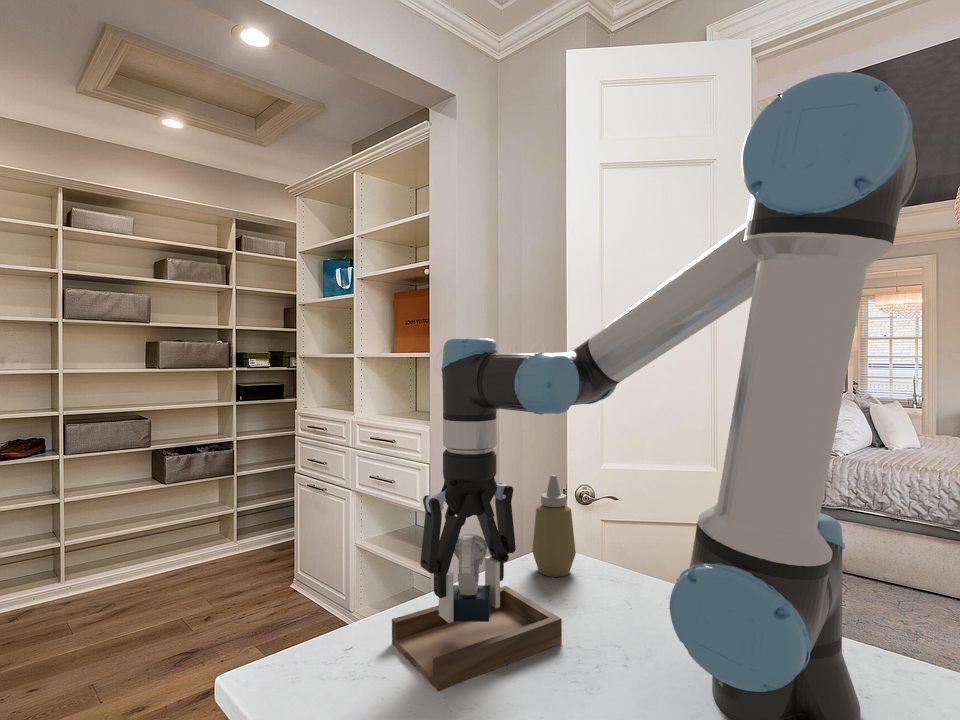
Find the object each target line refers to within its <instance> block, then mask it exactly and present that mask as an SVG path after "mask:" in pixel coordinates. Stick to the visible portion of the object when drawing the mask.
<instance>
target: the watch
mask: <svg viewBox="0 0 960 720" xmlns="http://www.w3.org/2000/svg"><path fill="white" fill-rule="evenodd" d="M487 550H488V547H487V543H486V541H485V538H484V537H482V536H481V535H478V534H476V533H475V534H474V533H464V534H461V535H459V537H458V540H457V544H456V547H455V550H454V554H453V555H455V557H456V558H457V559H458V574H457V583H458V584H456V585H455V584H453V621H458V622H489V617H490V608H491V602H490V585H485V584H484V585H483V584H482V585H481V584H480V585H479V578H480V566H482V565H483V562H484V560H485V557H486V555H487Z"/></svg>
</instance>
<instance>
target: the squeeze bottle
mask: <svg viewBox="0 0 960 720" xmlns="http://www.w3.org/2000/svg"><path fill="white" fill-rule="evenodd" d="M540 503H541V504H540V505H539V506H537V507H536V508H535V518H534V519H535V521H534V529H533V538H532V549H531V552H532V554H533V557H534V561H535V564H536V568H537V570H538V573H540V574H541V575H544V576H547V577H554V578H555V577H557V578H558V577H564V576H565V577H566V576H567V575H568V574H570V573H571V569H572V565H573V563H574V560H575V557H576V543H575V535H574V524H573V513H572V509H571V508H570V507H569V506H568V505H567V495H566V494H565V493H561V490H560V485H559V481H558V476H557V475H555V474H551V475H550V476H549V481H548V485H547V489H546V492H544V493H542V494H541V495H540Z"/></svg>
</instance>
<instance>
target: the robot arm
mask: <svg viewBox="0 0 960 720" xmlns="http://www.w3.org/2000/svg"><path fill="white" fill-rule="evenodd" d="M753 121H754V122H753V123H752V124H751V126H750V128H749V130H748V132H747V134H746V136H745V139H744V142H743V146H742V149H741V150H742V151H741V159H740V161H741V162H740V163H741V171H742V178H743V181H744V184H745V187H746V189H747V191H748V192H749V194H750V199H749V205H748V210H747V211H748V212H747V217H746V221H745V223H744V224H742V225H741V226H740V227H738V228H737V229H735V230H734V231H733V232H731V233H730V234H728V236H726V237H725V238H723V239H722V240H721V241H719V242H718V243H717V244H715V245H714V246H712V247H711V248H710V249H708V250H707V251H706V252H704V253H702V254H701V256H698V257H697V258H696V259H695V260H693V261H691V263H689V264H687V266H684V268H683V269H681V270H679V272H677V273H676V274H674V275H673V276H672V277H670V278H669V279H667V280H666V281H665V282H663V283H662V284H661V285H659V286H658V287H657V288H656V289H654V290H653V291H652V292H649V293H648V294H647V295H646V296H644V297H643V298H642V299H641V300H639V301H638V302H636V303H635V304H634V305H632V306H631V307H629V308H628V309H626V310H625V311H624V312H623V313H622V314H620V315H619V316H617V317H616V318H615V319H613V320H612V321H611V322H609V323H608V324H606V325H605V326H604V327H603V328H601V329H600V330H598V331H597V332H596V333H595V334H593V335H592V336H591V337H590V338H588V339H587V340H585V341H584V342H582V343H581V344H580V345H579V346H577V347H576V348H574V349H573V350H571V351H568V352H542V351H541V352H516V353H515V352H514V353H511V352H510V353H509V352H508V353H502V352H498V350H497V342H496V341H495V340H494V339H492V338H450V339H448V340H446V341H445V342H444V345H443V352H442V364H441V365H442V366H441V373H442V374H441V376H442V445H443V447H444V448H445V450H444V451H443V452H442V475H443V481H444V482H443V486H442V488H441V491H440V492H439V493H436V494H435V495H432V496H431V495H427V494H425V495H424V496H423V498H422V502H423V507H424V511H425V514H424V524H423V533H422V535H423V536H422V543H421V544H422V545H421V553H420V554H421V555H420V563H419V564H420V567H421V568H423V570H425V571H427V572H428V573H429V574H433V593H434V595H435V596H436V597H437V598H438V605H439V616H441V617H442V618H443V619H444V620H445V621H447V622H448V623H451V622H453V585H454V573H453V572H451V571H450V570H449V569H450V566H451V563H452V560H453V557H454V555H455V554H454V550H455V547H456V544H457V540H458V537H459V536H460V533H461V530H462V527H463V526H464V525H465V524H466V520H467V518H470V517H472V516H476V517H477V519H478V522H479V525H480V528H481V532H482V535H483V539H484V540H485V541H486V543H487V550H488V552H489V555H488V556H485V557H484V585H490V602H491V606H493V607H494V608H499V607H500V587H501V582H503V581H504V577H505V574H504V573H505V571H504V570H505V568H504V567H505V566H504V564H505V563H507V562H508V561H509V558H510V556H509V554H513V553H515V552H516V550H517V549H516V548H517V547H516V539H515V538H516V537H515V528H514V517H513V508H512V500H513V495H514V488H513V486H511V485H508V484H505V483H502V482H499V483H497V482H496V479H495V478H496V475H497V451H496V450H495V449H494V448H495V447H496V446H497V443H498V441H497V440H498V438H497V434H498V433H497V427H498V425H497V410H507V411H508V410H509V411H516V412H525V413H534V414H535V415H541V416H542V415H545V414H546V415H547V414H548V415H549V414H551V415H552V414H553V415H554V414H555V415H559V414H565V413H566V412H567V411H568V410H570V407H571V406H579V405H591V404H592V405H593V404H596V403H598V402H599V401H603V400H605V399H607V398H609V397H610V396H611V395H612V394H613V393H614V391H615V390H616V388H617V385H618V384H619V383H621V382H623V381H624V380H626V379H627V378H629V377H631V376H632V375H633V374H635V373H637V372H638V371H639V370H641V369H643V368H644V367H646V366H648V365H649V364H650V363H652V362H653V361H655V360H657V359H658V358H660V357H662V356H663V355H665V354H666V353H667V352H669V351H670V350H672V349H673V348H675V347H677V346H678V345H680V344H682V343H683V342H685V341H686V340H688V339H689V338H690V337H693V336H694V335H695V334H697V333H698V332H700V331H701V330H703V329H704V328H706V327H708V326H710V325H711V324H712V323H713V322H715V321H717V320H718V319H720V318H722V317H723V316H725V315H726V314H728V313H729V312H731V311H732V310H734V309H735V308H737V307H738V306H740V305H742V304H743V303H744V302H746V301H748V300H749V299H750V298H751V301H750V308H749V314H748V320H747V325H746V330H745V331H746V332H745V336H744V337H745V338H744V341H743V342H744V343H743V349H742V354H741V361H740V366H739V373H738V379H737V384H736V385H737V386H736V390H735V396H734V403H733V408H732V415H731V421H730V427H729V432H728V439H727V443H726V449H725V456H724V461H723V468H722V472H721V473H722V474H721V479H720V486H719V492H718V497H717V502H716V504H715V505H713V506H711V507H710V508H708V509H706V510H704V511H702V512H700V514H699V515H698V518H697V523H696V530H695V535H694V541H693V546H692V551H691V552H692V553H691V559H690V563H689V567H688V568H687V569H685V570H683V571H682V572H681V573H680V576H679V577H678V578H676V583H675V584H674V586H673V588H672V590H671V593H670V598H669V615H670V619H671V623H672V627H673V630H674V632H675V634H676V637H677V638H678V640H679V642H680V643H682V644H683V646H684V648H685V649H686V650H687V653H688V655H689V657H691V658H692V660H693V661H695V663H696V664H697V665H698V666H699V667H701V668H702V669H703V670H704V671H705V672H706V673H708V674H709V675H711V676H712V677H711V678H712V679H711V681H712V682H711V683H712V684H711V690H712V692H711V693H712V696H713V698H714V701H715V702H716V704H717V706H718V707H719V708H720V710H722V711H723V712H724V714H726V716H727V717H729V718H730V719H731V720H861V718H862V717H861V712H862V711H861V706H860V701H859V698H858V696H857V693H856V689H855V686H854V684H853V680H852V678H851V674H850V672H849V670H848V667H847V663H846V661H845V659H844V655H843V644H842V643H843V550H845V548H846V545H845V543H844V541H843V529H842V525H841V524H840V522H839V521H838V520H837V519H836V518H834V517H832V516H830V515H828V514H825V513H821V511H822V505H823V499H824V494H825V489H826V484H827V478H828V473H829V469H830V462H831V457H832V452H833V447H834V442H835V437H836V431H837V427H838V421H839V416H840V411H841V405H842V400H843V394H844V390H845V384H846V380H847V373H848V370H849V369H848V368H849V363H850V360H851V359H850V358H851V352H852V348H853V343H854V337H855V333H856V332H855V331H856V326H857V323H858V322H857V321H858V316H859V311H860V306H861V301H862V295H863V289H864V285H865V279H866V274H867V269H868V268H869V267H871V265H872V264H873V263H875V262H876V261H878V260H879V259H880V258H881V257H883V256H885V255H886V254H888V253H889V252H891V251H892V250H893V247H894V243H895V236H896V230H897V228H898V227H897V226H898V221H899V217H900V211H901V210H902V209H903V208H904V207H905V205H906V204H907V203H908V201H909V199H910V198H911V196H912V193H913V191H914V189H915V187H916V184H917V179H918V176H919V157H918V153H917V150H916V147H915V143H914V140H913V122H912V121H913V120H912V117H911V114H910V110H909V109H908V106H907V105H906V103H905V102H904V100H903V99H901V98H900V96H898V95H897V93H896V92H895V91H894V90H893V89H892V88H891V87H890V86H889V85H888V84H886V83H885V82H884V81H882V80H880V79H878V78H876V77H874V76H870V75H868V74H865V73H860V72H852V71H849V72H848V71H838V72H837V71H836V72H830V73H824V74H820V75H817V76H814V77H813V76H812V77H810V78H807V79H805V80H803V81H800V82H799V83H796V84H795V85H792V86H791V87H790V88H787V89H785V91H783V92H782V93H780V95H778V96H777V97H776V98H774V99H773V100H772V102H771V103H769V104H767V105H766V106H765V108H763V110H762V111H760V113H759V115H757V117H756V118H755V119H754V120H753ZM493 498H494V499H495V500H494V502H495V513H496V516H495V513H494V510H493V506H492V504H491V503H492V500H493ZM444 503H445V504H446V505H447V509H446V511H445V514H444V520H445V521H444V525H443V528H442V518H443V517H442V511H444ZM494 516H495V517H496V521H495V518H494ZM496 523H497V524H496ZM441 528H442V532H441ZM490 555H491V556H490Z"/></svg>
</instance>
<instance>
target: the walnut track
mask: <svg viewBox="0 0 960 720" xmlns="http://www.w3.org/2000/svg"><path fill="white" fill-rule="evenodd" d="M562 623H563V621H562V618H561V617H560V616H558V615H556V614H554V613H553V612H551V611H549V610H547V609H546V608H544V607H542V605H539V604H538V603H536V602H535V601H533V600H531V599H529V598H528V597H526V596H524V595H522V594H521V593H519V592H517V591H516V590H514V589H512V588H510V587H509V586H508V585H504V586H500V607H499V608H494V607H493V606H491V608H490V617H489V622H458V621H453V622H451V623H448V622H447V621H445V620H444V619H443V618H442V617H441V616H439V604H438V605H436V606H432V607H428V608H425V609H422V610H421V609H420V610H418V611H415V612H411V613H408V614H405V615H401V616H399V617H398V616H397V617H394V618H392V619H391V644H392V645H393V646H394V648H396V649H397V650H398V651H399V653H400V654H401V655H403V657H405V659H406V660H407V661H408V662H409V663H410V664H411V665H412V666H413V667H414V668H415V669H416V670H417V671H418V673H420V674H421V675H422V676H423V678H425V679H426V680H427V682H429V683H430V685H431V686H432V687H433V688H434V689H435V690H436V691H437V692H439V691H442V690H445V689H446V688H447V689H448V688H450V687H453V686H455V685H457V684H460V683H463V682H465V681H468V680H470V679H472V678H475V677H478V676H480V675H481V676H482V675H483V674H484V675H485V674H486V673H488V672H491V671H493V670H496V669H499V668H501V667H504V666H506V665H509V664H511V663H514V662H517V661H520V660H523V659H525V658H527V657H530V656H533V655H535V654H537V653H540V652H542V651H543V652H544V651H545V650H549V649H551V648H553V647H555V646H559V645H560V644H562V643H563V642H562V641H563V638H562V637H563V635H562V634H563V633H562V631H563V630H562V625H563V624H562Z"/></svg>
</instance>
